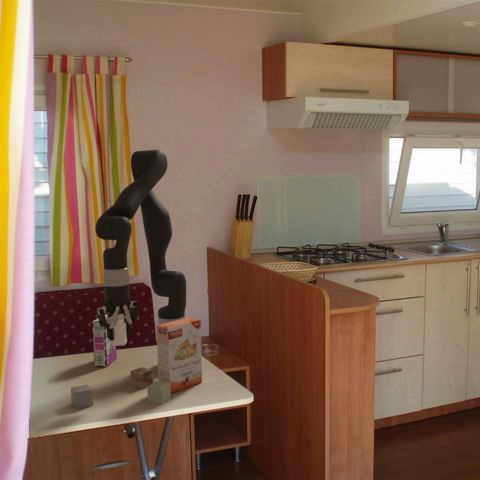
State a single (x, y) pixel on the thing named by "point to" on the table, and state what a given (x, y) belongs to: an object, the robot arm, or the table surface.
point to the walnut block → (141, 377)
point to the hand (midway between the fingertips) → (119, 337)
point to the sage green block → (159, 392)
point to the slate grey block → (81, 396)
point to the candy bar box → (102, 346)
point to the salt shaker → (119, 331)
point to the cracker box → (179, 353)
